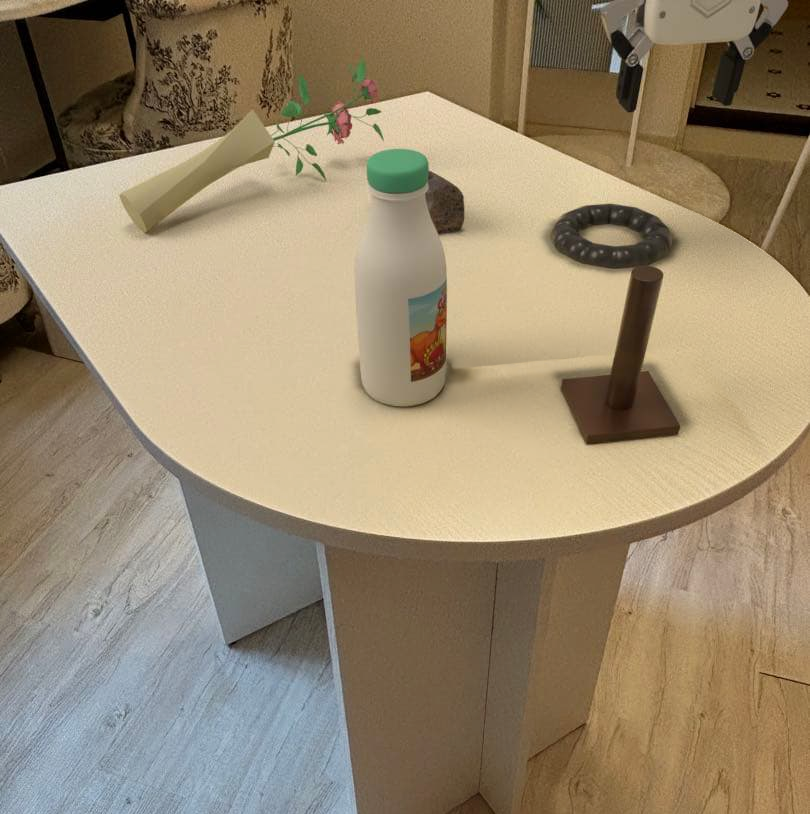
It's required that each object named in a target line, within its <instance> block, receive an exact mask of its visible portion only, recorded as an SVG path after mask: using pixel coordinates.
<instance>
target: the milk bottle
mask: <svg viewBox="0 0 810 814" xmlns="http://www.w3.org/2000/svg"><path fill="white" fill-rule="evenodd" d="M429 169H430V167H429V161H428V158H427V156H426V155H424V154H423V153H421V152H420V151H416V150H413V149H409V148H408V149H407V148H391V149H385V150H381V151H378V152H375V153H373V154H372V155H371V156H370V157H369V158H368V159H367V162H366V180H367V183H368V185H367V191H368V193H369V194H370V197H371V199H370V207H369V210H368V211H369V212H368V215H367V216H368V217H367V219H366V222H365V225H364V227H363V230H362V232H361V235H360V238H359V240H358V243H357V246H356V251H355V256H354V266H353V267H354V269H353V272H354V273H353V274H354V298H355V313H356V327H357V342H358V343H357V344H358V355H359V368H360V378H361V385H362V388H363V389H364V390H365V392H366V393H367V394H368V395H369V397H370V398H372V399H373V400H375V401H377V402H379V403H381V404H384V405H388V406H395V407H413V406H416V405H422V404H423V403H426V402H428V401H430V400H432V399H434V398H435V397H436V396H437V395H438V394H439V393H440V392H441V390H443V387H444V385H445V383H446V374H447V373H446V371H447V334H448V333H447V330H448V329H447V328H448V327H447V325H448V323H447V322H448V278H447V276H448V274H447V272H448V271H447V269H448V268H447V259H446V254H445V250H444V246H443V244H442V240H441V238H440V234H438V233H437V231H436V229H435V226H434V224H433V222H432V220H431V217H430V214H429V211H428V207H427V204H426V198H425V193H426V192H427V190H428V188H429V186H428V176H429V171H430V170H429Z"/></svg>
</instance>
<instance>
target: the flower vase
mask: <svg viewBox="0 0 810 814" xmlns="http://www.w3.org/2000/svg"><path fill="white" fill-rule="evenodd" d="M348 66H349V69H350V73H351V76H352V79H351V82H350V87H351V89H352V91H353V92H352V93H353V94H352V100H351V101H349V102H348V103H346V104H345V103H342V102H341V101H340V100H338V102H337V101H335V102H334V106H333V107H331V112H329V113H323V114H324V115H322V116H320V117H317V118H315V119H313V120H311V121H309V122H307V123H304V124H302V122H303V118H304V115H302V114H305V113H304V112H305V109H303V108H305V107H306V105H307V104H310V102H311V96H310V94H309V89H308V85H307V82H306V80H305V78H304V77H303V75H302V74H301V73H300V72H298V88H299V96H301V100H300V104H299V103H297V102H295V101H291V100H287V105H286V106H285V107H284V108H283V110H282V111H281V113H280V116H283V117H287V118H289V120H288V123H287V125H289V124H290V121H291V120H292V118H294V117H297V118H298V117H299V116H300V124H299V126H298V127H295V128H294V129H292V130H289V126H287V127H286V128H287V130H286V131H287V132H286V133H285V131H284V130H283V129H282V128H281V126H280V125H279V122H276V123H275V124H276V129H277V130H276V131H275V132H273V133H272V134H270V132H269V131H268V129H267V128H266V127H265V125H264V123H263V122H262V120H260V118H259V117H258V115H257V114H256V112H255V110H254V109H253V108H252V109H251V110H250V111H249V112H248V113H247V114H246V115H245V116H244V117H243V118H242V119H241V120H240V121H239V123H238V124H236V125H235V126H234V127H233V129H231V130H230V131H228V132H227V133H226V134H225V135H224V136H223V137H221V138H219V139H218V140H216V141H215V142H214V143H212V144H211V145H209V146H208V147H206V148H204V149H203V150H201V151H200V152H199V153H197V154H195V155H193V156H192V157H190V158H188V159H187V160H185V161H182V163H179V164H177V165H176V166H173V167H172V168H170V169H167V170H165V171H163V172H160V173H158V174H157V175H155V176H153V177H150V178H148V179H147V180H145V181H142V182H140V183H139V184H137V185H135V186H132V187H130V188H127V189H126V190H124V191H122V192H120V194H119V196H118V197H119V199H120V202H121V205H122V206H123V208H124V210H125V211H126V213H127V215H128V216H129V218H130V220H131V221H132V222H133V223H134V224H135V226H136V227H137V228H138V229H139V230H140V231H141V232H143V233H144V234H146V233H147V232H148V231H150V230H151V229H152V228H154V227H155V226H157V225H158V224H159V223H160V222H161V221H163V220H164V219H166V217H168V216H169V215H171V214H172V213H174V212H175V211H176V210H178V208H180V207H181V206H183V205H184V204H185V203H186V202H188V201H190V199H192V198H193V197H194V196H196V195H197V194H198V193H200V192H201V191H203V190H204V189H206V188H207V187H208V186H209V185H211V184H213V183H215V182H216V181H218V180H220V179H221V178H223V177H225V176H227V175H229V174H230V173H231V172H233V171H235V170H237V169H239V168H240V167H243V166H246V165H248V164H252V163H255V162H260V161H262V160H265V159H269V158H270V155H271V153H272V150H273V148H274V147H275V148H276V147H277V148H280V149H282V150H284V151H285V154H287V156H288V157H291V153H290V152H289V151H288V149H286V148H285V147H284V146H283V145H282V144H281V143H278V142H277V145H275V143H276V141H279V140H281V139H283V140H285V141H286V142H288V143H289V144H291V145H292V146H293V147H294V148H295V150H297V159H296V164H295V176H297V175H299V174H301V172H302V171H303V168H304V162H303V161H302V160H301V158H300V157H299V154H300V156H302V158H303V159H304V161H306V163H308V164H309V165H310V166H312V168H314V169H315V170H317V172H318V173H319V174H320V176H321V177H322V178H323V179H324V181H327V178H326V175H325V173H324V171H323V169H322V168H321V166H320V165H319V164H318V163H316V162H314V163H313V162H312V163H310V162H309V161H308V160H307V159H306V158H305V156H303V154H302V153H301V151H300V150H302V151H306V152H307V153H308V154H309V155H311V156H314V157H317V156H318V153H317V152H316V150H315V148H314V147H313V146H312V145H311V144H309V143H306V146H305V148H301V147H297V146H295V145H294V144H293V143H292V142H291V141H289V140H288V139H287V138H286V137H289V136H292V135H294V134H297V133H301V132H304V131H307V130H311V129H314V128H318V127H323V126H328V130H327V133H326V136H328V135H330V134H331V136H332V137H333V138H334V139H333V140H334V142H337V145H341V144H342V145H344V143H345V141H344V140H346V139H347V138H349V137H350V135H351V130H352V129H353V123H352V118H354V119H355V120H357V121H359V122H361V123H364V124H365V125H368V126H369V127H372V128H373V130H374V131H375V132H376V133H377V134H378V136H379V137H380V138H381V140H382V142H385V139H384V136H383V133H382V131H381V128H380V127H379V125H378V124H377V123H374V124H373V125H371V124H368V123H366V122H364V121H362V120H361V119H360V118H364V117H365V116H368V117H369V116H373V115H378V114H381V113H382V112H383V111H382V110H380V109H378V108H376V107H375V108H374V107H369V108H366V111H365V114H364V115H362V116H353V115H352V114H351V113H350V112H349V110H348V108H347V107H348V106H350V105H352V104H353V103H355V102H356V101H358V100H360V99H361V98H363V103H365V102H366V101H368V102H370V104H371V105H373V104H376V100H375V99H377V101H378V100H379V97H380V95H379V91H378V85H377V83H376V82H375V81H373V79H372V78H370V77H368V76H366V74H367V66H366V62H365V58H362V59H361V60H360V62H359V64H357V67H356V71H355V73H354V68H353V66H352V64H351V63H350V62H348ZM355 81H356V84H355V86H354V88H353V84H354V82H355ZM358 83H362V84H361V86H360V88H358V90H359V92H360V95H359V96H357V97H356V98H355V97H354V96H355V92H356V91H355V90H356V87H357V85H358ZM303 103H304V105H303ZM301 112H302V114H301ZM325 118H326V119H327V122H320V123H316V122H318V121H320V120H322V119H325ZM313 123H314V124H313ZM279 131H280V132H281V133H283V134H280V135H278V136H275V137H273V136H274V135H275V134H276V133H278V132H279ZM343 139H344V140H343Z"/></svg>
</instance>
